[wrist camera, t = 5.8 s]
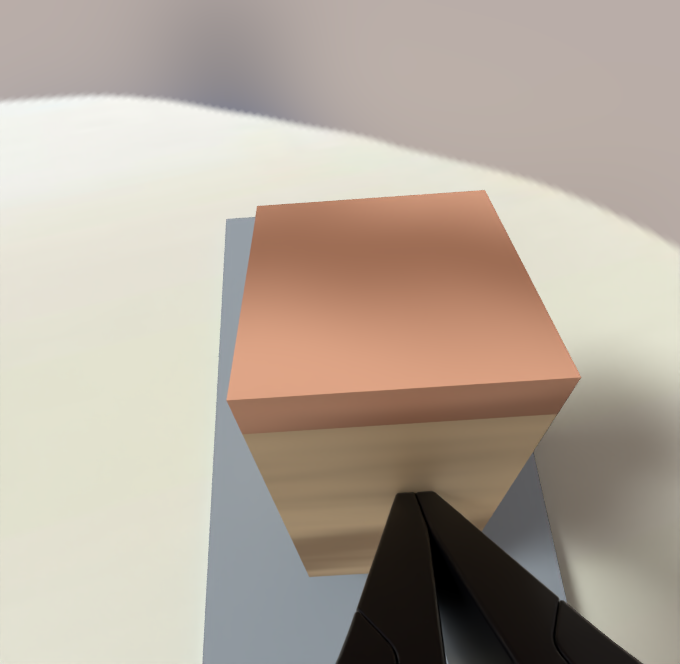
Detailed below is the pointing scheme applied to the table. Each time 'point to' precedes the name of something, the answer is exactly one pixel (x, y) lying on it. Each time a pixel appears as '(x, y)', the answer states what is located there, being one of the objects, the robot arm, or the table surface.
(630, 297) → the table surface
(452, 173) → the table surface
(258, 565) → the mat
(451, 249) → the oak block
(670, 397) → the table surface
